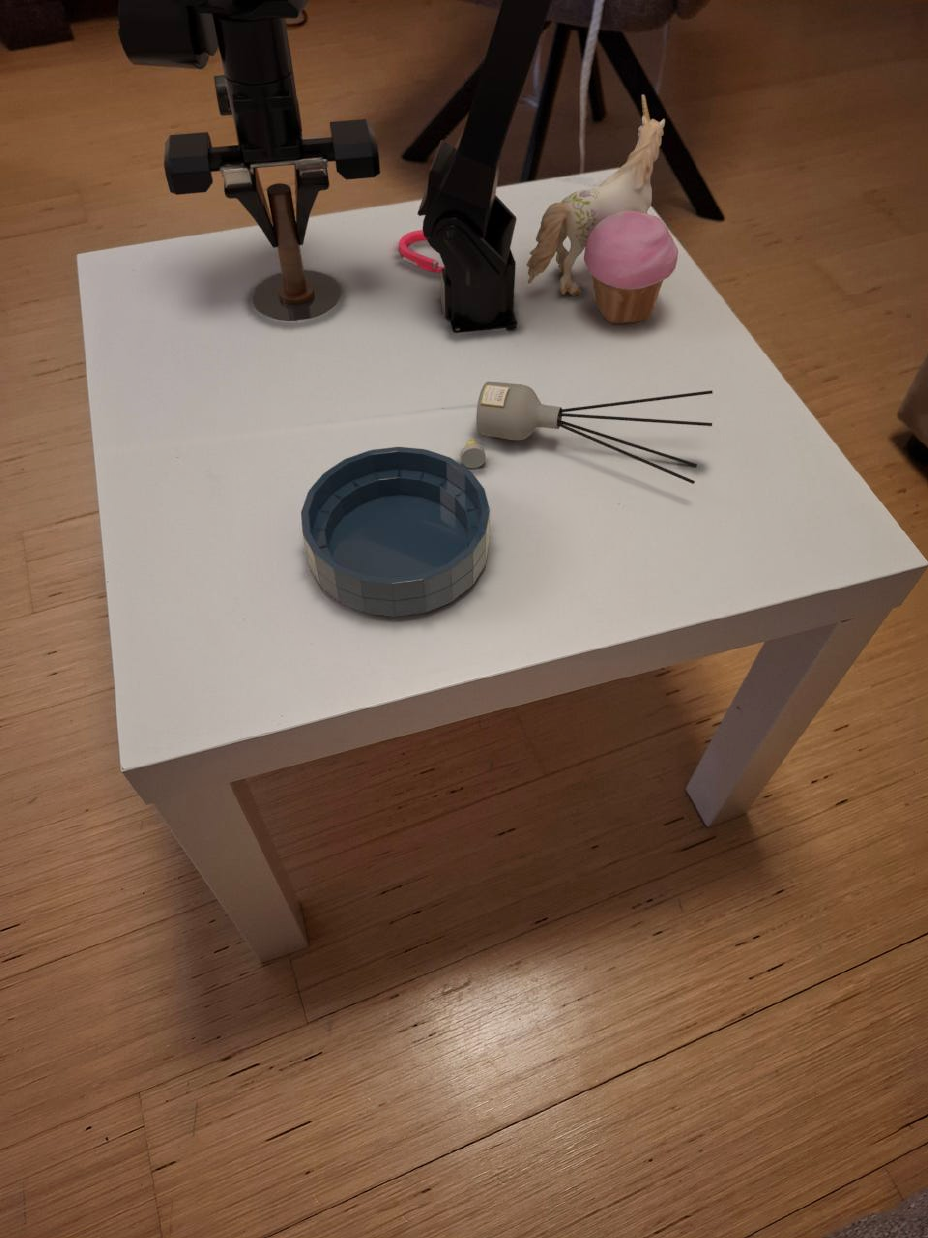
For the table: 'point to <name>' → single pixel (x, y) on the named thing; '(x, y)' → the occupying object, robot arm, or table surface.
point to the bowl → (396, 531)
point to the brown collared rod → (288, 246)
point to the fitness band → (415, 257)
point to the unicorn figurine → (597, 206)
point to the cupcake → (629, 264)
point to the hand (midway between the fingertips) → (288, 244)
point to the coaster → (274, 308)
